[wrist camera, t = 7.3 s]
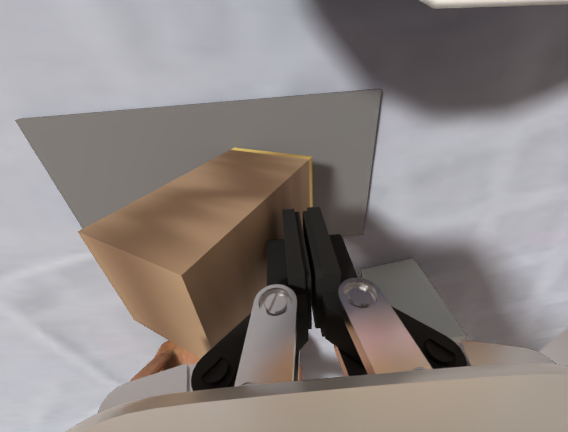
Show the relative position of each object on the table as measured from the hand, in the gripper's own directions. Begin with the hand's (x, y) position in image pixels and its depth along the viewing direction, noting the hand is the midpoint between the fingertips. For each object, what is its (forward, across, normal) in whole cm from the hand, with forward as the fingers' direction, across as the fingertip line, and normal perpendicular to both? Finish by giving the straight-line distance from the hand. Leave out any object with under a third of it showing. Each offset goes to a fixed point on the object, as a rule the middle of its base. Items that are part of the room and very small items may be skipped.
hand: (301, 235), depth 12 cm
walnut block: (+5, +1, 0) cm, 5 cm away
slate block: (+6, -8, +11) cm, 15 cm away
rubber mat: (+6, +5, 0) cm, 8 cm away
